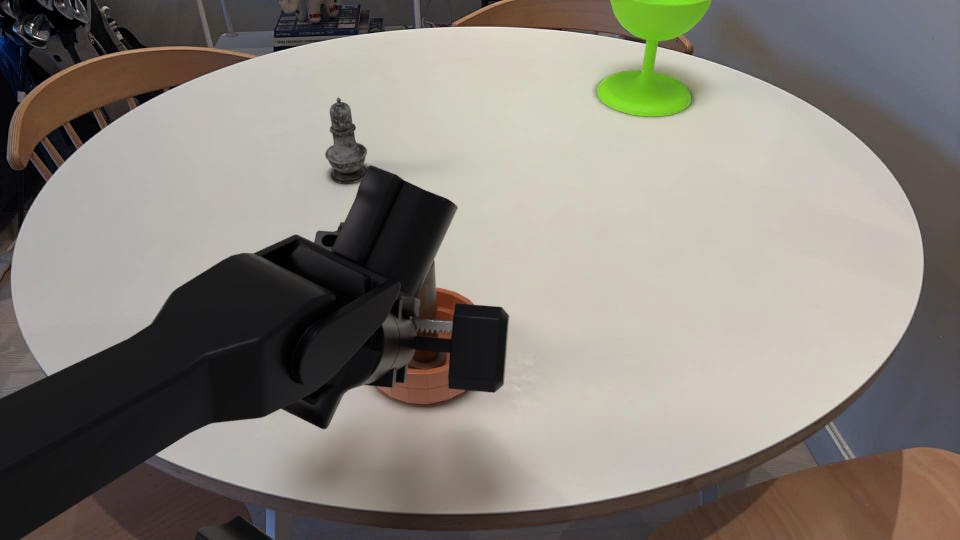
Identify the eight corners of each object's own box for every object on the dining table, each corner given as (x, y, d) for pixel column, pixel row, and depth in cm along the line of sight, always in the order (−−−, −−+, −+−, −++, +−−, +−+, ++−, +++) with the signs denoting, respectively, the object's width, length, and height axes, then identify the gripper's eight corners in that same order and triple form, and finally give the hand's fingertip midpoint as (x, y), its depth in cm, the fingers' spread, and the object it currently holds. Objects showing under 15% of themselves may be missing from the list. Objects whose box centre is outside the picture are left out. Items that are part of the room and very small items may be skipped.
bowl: (431, 428, 67) (428, 394, 63) (343, 368, 72) (336, 334, 69) (507, 354, 74) (509, 320, 71) (422, 305, 80) (419, 272, 77)
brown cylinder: (427, 380, 70) (419, 284, 62) (395, 360, 73) (384, 264, 64) (455, 355, 73) (452, 259, 65) (424, 336, 75) (416, 241, 67)
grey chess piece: (320, 177, 100) (306, 100, 92) (346, 159, 104) (335, 83, 96) (351, 189, 98) (340, 111, 90) (378, 170, 102) (369, 94, 94)
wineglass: (710, 106, 117) (736, -4, 105) (628, 124, 112) (645, 11, 100) (656, 68, 128) (674, -35, 116) (580, 83, 123) (590, -23, 112)
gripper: (511, 225, 44) (517, 253, 60) (229, 206, 46) (305, 238, 62) (497, 402, 44) (507, 384, 59) (210, 376, 45) (293, 365, 61)
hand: (401, 338), depth 60 cm, fingers open, 9 cm apart
